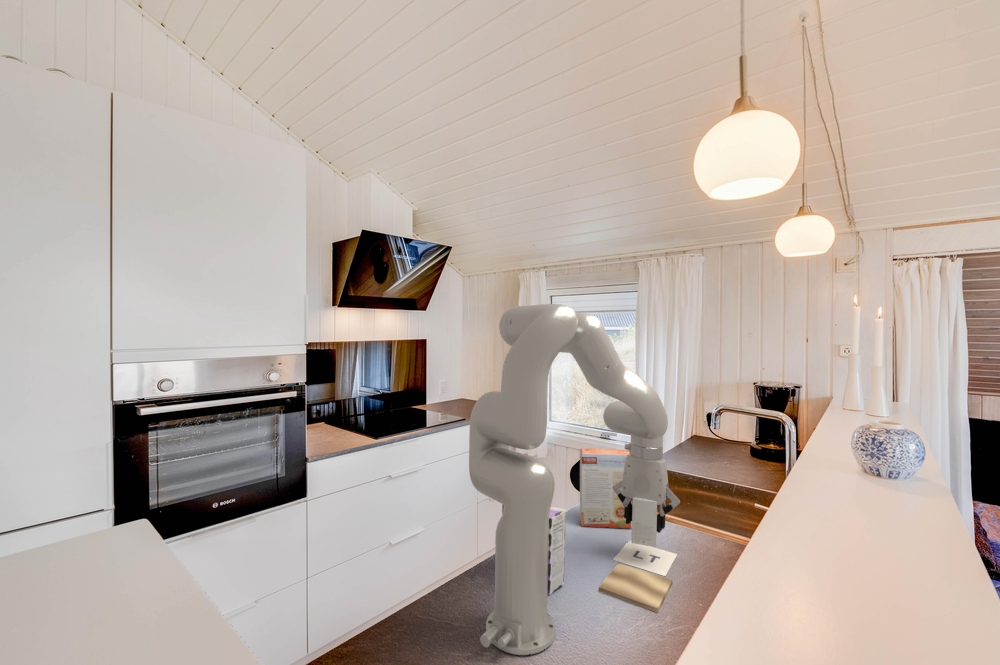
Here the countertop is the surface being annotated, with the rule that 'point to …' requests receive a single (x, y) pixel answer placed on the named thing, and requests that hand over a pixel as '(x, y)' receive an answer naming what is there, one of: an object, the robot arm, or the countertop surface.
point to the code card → (646, 558)
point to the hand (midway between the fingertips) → (644, 525)
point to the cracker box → (601, 488)
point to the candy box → (555, 549)
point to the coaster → (636, 587)
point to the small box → (644, 522)
